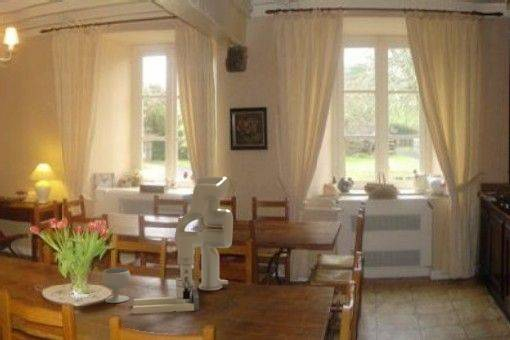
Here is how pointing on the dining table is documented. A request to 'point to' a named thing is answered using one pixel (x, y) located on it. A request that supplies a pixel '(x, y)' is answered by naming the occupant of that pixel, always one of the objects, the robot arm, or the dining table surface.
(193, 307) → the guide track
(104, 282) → the chalice
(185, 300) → the syrup box
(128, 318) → the dining table surface
